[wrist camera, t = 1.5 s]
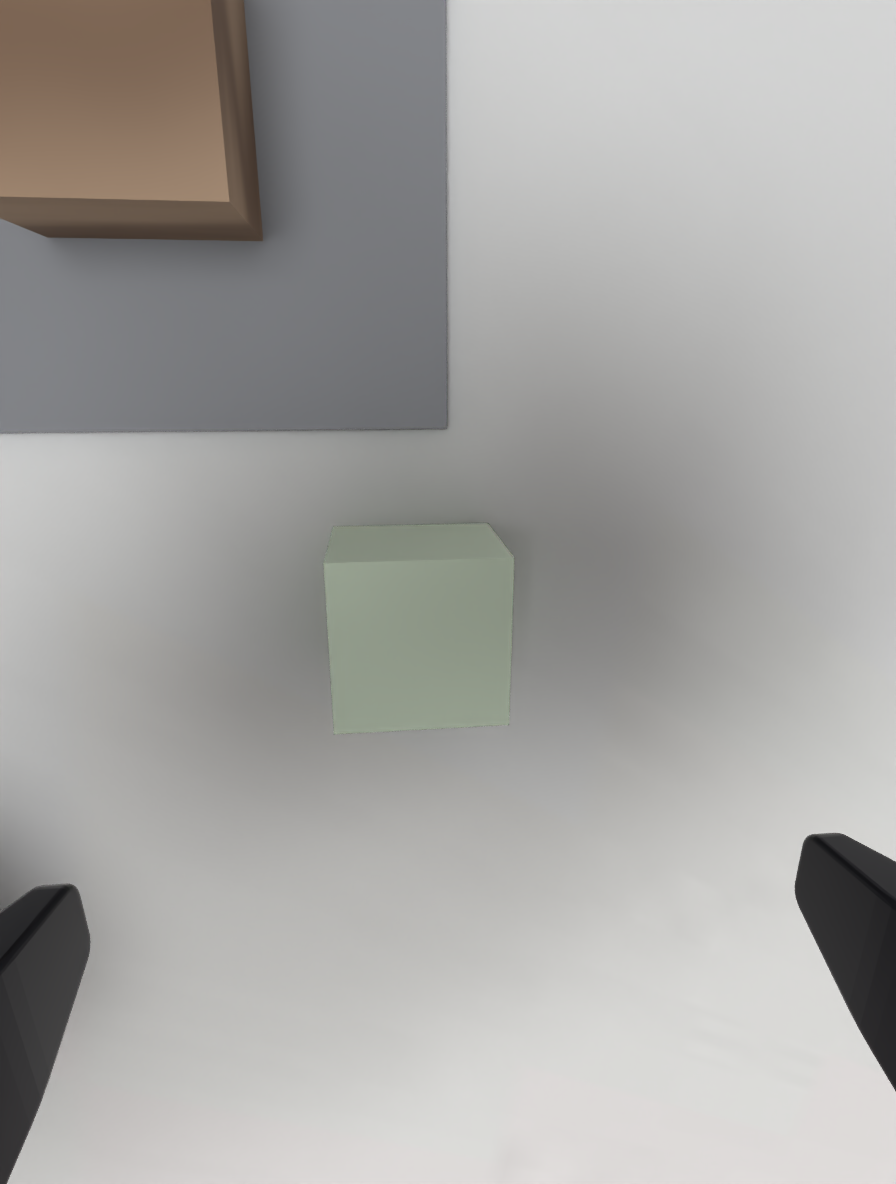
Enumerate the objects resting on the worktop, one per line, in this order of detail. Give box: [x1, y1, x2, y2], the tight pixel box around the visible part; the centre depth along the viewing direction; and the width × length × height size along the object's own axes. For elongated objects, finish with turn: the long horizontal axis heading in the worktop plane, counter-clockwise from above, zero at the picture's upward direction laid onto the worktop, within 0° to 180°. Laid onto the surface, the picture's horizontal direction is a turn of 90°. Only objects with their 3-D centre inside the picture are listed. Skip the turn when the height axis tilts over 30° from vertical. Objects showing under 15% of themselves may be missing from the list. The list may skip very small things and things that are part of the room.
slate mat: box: [0, 0, 447, 433], centre depth 15 cm, size 14×14×1 cm
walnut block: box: [0, 0, 263, 241], centre depth 13 cm, size 5×5×4 cm
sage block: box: [323, 523, 514, 735], centre depth 18 cm, size 4×4×4 cm
